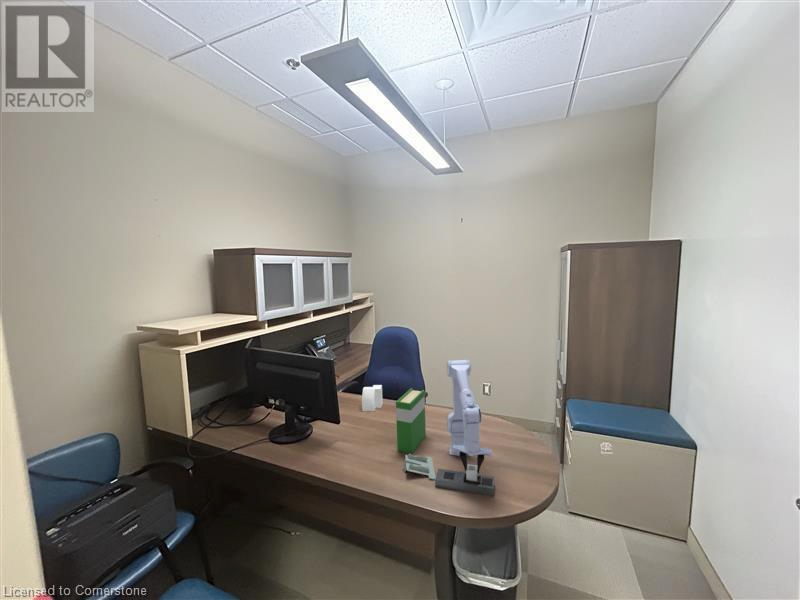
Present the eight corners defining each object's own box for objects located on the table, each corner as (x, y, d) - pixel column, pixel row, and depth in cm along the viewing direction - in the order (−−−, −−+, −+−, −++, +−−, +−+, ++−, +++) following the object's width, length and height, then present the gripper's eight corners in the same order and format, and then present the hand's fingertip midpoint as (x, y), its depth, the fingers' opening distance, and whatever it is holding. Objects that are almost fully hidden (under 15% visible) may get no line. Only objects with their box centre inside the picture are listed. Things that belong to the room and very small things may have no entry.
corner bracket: (382, 403, 208) (381, 385, 207) (379, 411, 197) (379, 392, 196) (366, 403, 209) (365, 384, 208) (362, 411, 198) (361, 392, 197)
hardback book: (412, 432, 171) (411, 388, 169) (425, 435, 168) (424, 390, 165) (397, 450, 156) (395, 401, 153) (412, 453, 152) (410, 404, 150)
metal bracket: (406, 468, 133) (404, 447, 148) (402, 481, 133) (401, 459, 148) (440, 476, 133) (435, 454, 148) (436, 489, 134) (431, 466, 149)
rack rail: (438, 475, 136) (438, 468, 136) (493, 484, 130) (493, 476, 130) (435, 486, 130) (435, 479, 129) (493, 496, 123) (493, 488, 123)
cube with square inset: (467, 473, 131) (467, 463, 130) (477, 474, 130) (477, 465, 129) (466, 479, 127) (466, 470, 127) (477, 481, 126) (477, 471, 125)
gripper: (451, 440, 125) (451, 474, 126) (491, 445, 121) (491, 480, 122) (453, 431, 132) (454, 463, 133) (491, 435, 127) (491, 468, 129)
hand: (472, 470), depth 128 cm, fingers closed on cube with square inset, 4 cm apart
